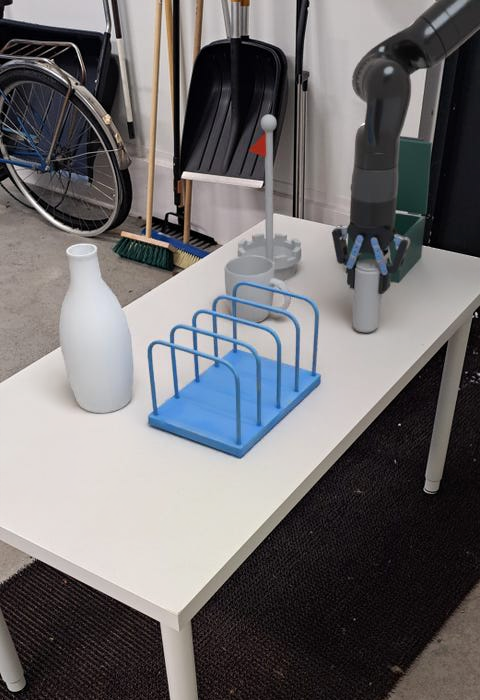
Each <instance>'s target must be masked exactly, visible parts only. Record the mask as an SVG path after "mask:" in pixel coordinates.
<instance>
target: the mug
mask: <svg viewBox="0 0 480 700" xmlns="http://www.w3.org/2000/svg"><path fill="white" fill-rule="evenodd" d="M241 281H248V282H252V283H257V284H261V285H265V286H269V287H273V288H277V289H280V290H284V291H288V292H291V290H290V288H289V287H288V285H287V284H286V283H285V282H284V280H282V281H281V280H279V279H275V274H274V264H273V262H272V261H271V260H269V259H267V258H264V257H260V256H241V257H238V256H236V257H234V258H232V259H230V260H228V262H226V263H225V265H224V287H225V295H228V296H232V292H233V288H234V286H235V285H236V284H237V283H239V282H241ZM274 294H275V292H271V291H268V290H264V289H259V288H256V287H251V286H247V285H241V286H239V287H238V288H237V291H236V298H240V299H244V300H248V301H252V302H255V303H259V304H263V305H267V306H270V307H274V308H278V309H281V310H285V311H287V309H288V308H289V307H290V306H291V301H292V297H290V296H286V295H283V297H284V302H283V304H281V305H280V306H273V301H274ZM226 301H227V305H228V308H229V312H230V314H231V316H233V310H232V301H231V300H227V299H226ZM270 314H274V315H275V314H276V315H277V314H279V313H276V312H272V311H268V310H265V309H261V308H257V307H254V306H250V305H246V304H242V303H238V302H236V318H240V319H244V320H247V321H251V322H254V323H258V324H259V323H260V322H263V321H264V320H266V318H268V317H269V315H270Z"/></svg>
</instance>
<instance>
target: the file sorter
mask: <svg viewBox="0 0 480 700" xmlns="http://www.w3.org/2000/svg"><path fill="white" fill-rule="evenodd" d="M241 285H247V286H251V287H256V288H259V289H264V290H268V291H271V292H274V294H275V293H276V294H279V295H282V296H284V295H286V296H290V297H291V298H293V299H297V300H302V301H304V302H306V303H308V304H309V305H310V306H311V308H312V309H313V311H314V333H313V347H312V351H313V352H312V363H311V365H312V366H311V370H308V369H306V368H301V367H300V356H301V355H300V354H301V353H300V349H301V327H300V324H299V321H298V319H297V318H296V317H295V316H294V315H293V314H292V313H291V312H289V311H287V310H281V309H278V308H274V307H275V306H272V307H270V306H267V305H263V304H259V303H255V302H252V301H248V300H244V299H240V298H236V291H237V288H238V287H239V286H241ZM220 300H226V301H227V300H231V301H232V310H233V315H230V314H225V313H222V312H218V311H217V304H218V302H219V301H220ZM236 302H238V303H242V304H246V305H250V306H254V307H257V308H261V309H265V310H268V311H272V312H276V313H278V314H280V315H283V316H286V317H287V318H289V319H290V320H291V321H292V323H293V324H294V327H295V356H294V361H295V362H294V365H292V364H288V363H287V362H286V363H285V362H282V342H281V339H280V337H279V335H278V334H277V333H276V331H275V330H274V329H273V328H272V327H269V326H267V325H265V324H260V323H259V322H258V323H254V322H251V321H247V320H244V319H240V318H236ZM201 314H205V315H210V316H211V317H212V331H210V330H206V329H203V328H199V327H197V317H198V316H199V315H201ZM217 318H221V319H224V320H227V321H231V322H232V337H230V336H227V335H223V334H219V333H218V324H217V323H218V319H217ZM237 323H239V324H242V325H246V326H249V327H251V328H256V329H259V330H262V331H265V332H267V333H269V334H270V335H271V336H272V337H273V338H274V340H275V343H276V360H275V359H272V358H268V357H265V356H262V355H259V353H258V351H257V350H256V349H255V348H254V347H253V345H251V344H250V343H248V342H246V341H243V340H239V339H238V335H237V334H238V330H237V328H238V326H237ZM319 323H320V312H319V307H318V306H317V304H316V303H315V301H314V300H313V299H311V298H310V297H308V296H305V295H303V294H298V293H295V292H291V291H290V292H288V291H284V290H280V289H279V288H277V287H274V288H273V287H269V286H265V285H261V284H257V283H252V282H248V281H241V282H239V283H237V284H236V285H235V286H234V288H233V292H232V296H228V295H226V294H221V295H218V296H216V297H215V298H214V299H213V301H212V305H211V309H206V308H202V309H201V308H200V309H198V310H197V311H196V312H194V314H193V315H192V318H191V325H187V324H184V323H180V324H176V325H175V326H173V327H172V328H171V329H170V332H169V341H166V340H161V339H156V340H153V341H152V342H150V343H149V345H148V347H147V363H148V374H149V384H150V392H151V393H150V394H151V402H152V403H151V404H152V411H151V412H150V413H148V414H147V423H148V425H150V426H152V427H156V428H158V429H161V430H164V431H167V432H170V433H172V434H175V435H178V436H181V437H184V438H187V439H189V440H191V441H195V442H198V443H200V444H203V445H206V446H208V447H212V448H213V449H217V450H219V451H223V452H225V453H228V454H230V455H233V456H236V457H239V458H241V457H243V456H244V455H245V454H246V453H247V452H248V451H249V450H250V449H252V447H254V445H255V444H257V443H258V441H260V440H261V439H262V438H263V437H264V436H265V435H266V434H267V433H269V431H271V429H272V428H274V427H275V426H276V425H277V424H278V423H279V422H281V420H282V419H283V418H284V417H286V415H288V414H289V413H290V412H291V411H292V410H293V409H294V408H295V407H296V406H297V405H298V404H299V403H301V402H302V401H303V399H305V398H306V397H307V396H308V395H309V394H310V393H311V392H312V391H313V390H314V389H315V388H317V387H318V386H319V385H320V384H321V383H322V382H321V381H322V374H321V373H318V372H317V359H318V344H319V343H318V340H319V327H320V326H319ZM179 329H181V330H182V329H183V330H187V331H189V332H192V346H193V348H190V347H186V346H184V345H183V346H182V345H179V344H176V343H175V333H176V331H177V330H179ZM198 334H201V335H202V336H203V335H204V336H208V337H210V338H213V354H214V355H212V354H208V353H205V352H203V351H199V349H198ZM218 340H220V341H224V342H228V343H230V344H232V349H231V350H229V351H228V352H227V353H226V354H225V355H223V356H222V357H219V348H218V347H219V346H218V345H219V344H218V343H219V341H218ZM156 345H161V346H163V347H164V346H165V347H168V348H170V358H171V368H172V369H171V370H172V379H173V390H174V394H172V396H171V397H170V398H168V399H166V400H165V402H163V403H161V405H159V406H158V403H157V393H156V383H155V372H154V371H155V370H154V363H153V362H154V361H153V360H154V359H153V347H154V346H156ZM238 346H241V347H244V348H245V349H247V350H249V352H248V351H245V350H242V349H238ZM176 350H178V351H180V352H185V353H187V354H191V355H193V362H194V363H193V364H194V377H195V378H194V379H192V380H191V381H190V382H189V383H187V384H186V385H185V386H183V387H182V388H180V390H179V381H178V370H177V360H176V359H177V358H176ZM199 357H200V358H204V359H207V360H210V361H212V362H214V363H213V364H211V366H209V367H208V368H206V369H205V370H204V371H202V372H201V373H200V369H199V368H200V365H199Z"/></svg>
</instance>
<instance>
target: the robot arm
mask: <svg viewBox="0 0 480 700" xmlns="http://www.w3.org/2000/svg"><path fill="white" fill-rule="evenodd" d="M479 30H480V0H436V1H435V2H434V3H432V4H431V5H430V6H429V7H428V8H427V9H426V10H425V11H424V12H423V13H421V14H420V15H419V16H418V17H417V18H415V20H414V21H412V23H411V24H409V25H408V26H407V27H405V28H403V29H401V30H399V31H398V32H396V33H394V34H392V35H391V36H389V37H388V38H386V39H384V40H382V41H381V42H379V43H378V44H377V45H375V46H373V47H372V48H371V49H370V50H368V51H367V52H366V53H365V54H364V55H363V56H362V57H361V59H360V60H359V61H358V62H357V64H356V65H355V67H354V70H353V72H352V77H351V85H352V89H353V91H354V93H355V95H356V96H357V97H358V98H359V99H360V100H361V101H362V102H364V103H366V112H365V119H364V123H362V124H361V125H359V127H358V128H357V130H356V134H355V140H354V159H353V160H354V162H353V170H352V175H351V184H350V209H349V223H348V225H347V226H346V225H345V226H343V225H342V224H339V225H338V226H336V227H335V228H334V229H333V230H332V231H331V237H332V241H333V247H334V252H335V256H336V257H335V258H336V261H337V264H339V265H342V264H343V265H344V266H345V267H346V266H347V268H348V271H347V273H346V276H347V278H346V283H347V285H348V286H349V289H352V290H354V285H355V268H356V266H357V265H356V264H357V262H358V260H359V258H360V256H361V254H362V253H370V254H372V255H375V257H376V261H377V263H379V267H380V271H381V274H380V278H379V292H378V293H379V294H381V296H383V295H384V294H385V293H386V292H387V291H389V289H390V287H391V281H390V279H391V273H397V272H398V271H399V269H400V268H401V267H402V266H403V263H404V260H405V257H406V254H407V252H408V249H409V246H410V243H411V240H412V239H411V237H410V236H406V237H403V236H401V235H398V234H397V233H396V230H395V226H394V224H395V214H396V212H397V210H396V202H397V190H398V158H399V146H400V136H401V134H402V131H403V129H404V126H405V122H406V118H407V115H408V111H409V107H410V103H411V97H412V79H411V78H412V77H411V75H412V74H414V73H415V72H417V71H419V70H429V69H433V68H434V67H436V66H438V65H439V64H440V63H442V62H443V61H444V60H445V59H446V58H447V57H449V56H450V55H452V54H453V52H455V51H456V50H457V49H458V48H459V47H460V46H462V45H463V44H464V43H465V42H466V41H467V40H468V39H470V38H471V37H472V36H473V35H474V34H476V32H478V31H479ZM348 235H349V237H350V238H351V240H352V242H353V244H354V246H353V248H352V251H351V253H350V255H349V253H348V248H347V244H348V242H347V239H348ZM392 241H394V242H395V248H396V249H397V253H396V256H395V259H394V262H393V263H391V259H390V249H389V244H390V243H391V242H392Z"/></svg>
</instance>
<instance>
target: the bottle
mask: <svg viewBox="0 0 480 700" xmlns="http://www.w3.org/2000/svg"><path fill="white" fill-rule="evenodd" d="M65 255H66V256H67V260H68V267H69V276H70V283H69V286H68V288H67V291H66V293H65V297H64V299H63V300H62V304H61V307H60V308H61V309H60V315H59V322H58V324H59V325H58V326H59V328H58V330H59V331H58V333H59V345H60V349H61V353H62V359H63V362H64V366H65V370H66V375H67V378H68V380H69V383H70V384H69V385H70V386H71V389H72V391H73V395H74V397H75V400H76V402H77V404H78V405H79V406H80V407H81V408H82V409H83V410H85V411H87V412H88V413H89V412H90V413H95V414H108V413H113V412H116V411H120V410H121V409H123V408H124V407H126V406H127V405H128V404H129V402H130V401H131V400H132V398H133V393H134V390H133V389H134V356H133V355H134V354H133V341H132V334H131V330H130V326H129V324H128V320H127V317H126V314H125V312H124V310H123V307H122V305H121V303H120V302H119V299H118V297H117V296H116V295H115V293H114V292H113V291H112V290H111V288H110V287H109V286H108V284H107V283H106V282H105V280H103V278H102V274H101V269H100V263H99V259H98V247H97V246H96V245H95V244H92V243H76V244H73V245H71V246H69V247H68V248H66V249H65Z"/></svg>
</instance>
